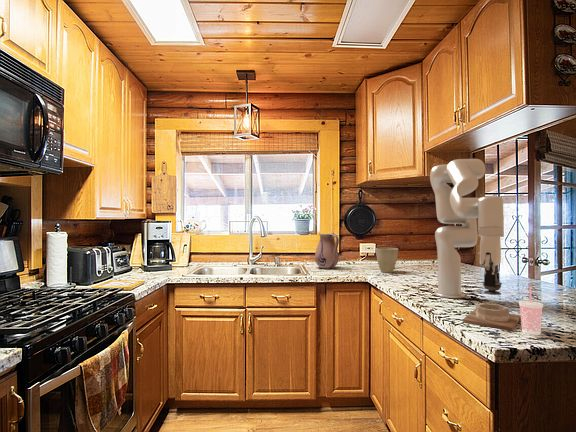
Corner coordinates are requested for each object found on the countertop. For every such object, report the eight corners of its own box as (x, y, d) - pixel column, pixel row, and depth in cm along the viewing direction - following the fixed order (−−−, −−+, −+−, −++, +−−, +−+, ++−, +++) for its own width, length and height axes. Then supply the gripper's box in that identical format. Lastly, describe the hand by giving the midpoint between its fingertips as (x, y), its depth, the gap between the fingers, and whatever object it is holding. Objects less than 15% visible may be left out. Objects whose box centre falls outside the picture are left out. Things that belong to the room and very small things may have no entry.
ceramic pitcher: (325, 265, 259) (325, 233, 259) (347, 268, 243) (347, 234, 244) (309, 268, 247) (309, 234, 248) (332, 271, 232) (331, 234, 232)
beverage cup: (514, 329, 105) (513, 284, 105) (532, 329, 105) (531, 284, 106) (530, 336, 99) (529, 288, 99) (549, 335, 99) (548, 288, 100)
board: (475, 311, 126) (475, 299, 126) (520, 318, 117) (520, 305, 117) (462, 322, 113) (462, 308, 113) (512, 331, 104) (512, 316, 104)
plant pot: (377, 273, 218) (377, 249, 219) (374, 270, 233) (373, 247, 233) (400, 274, 217) (400, 249, 217) (396, 270, 231) (396, 247, 232)
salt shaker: (494, 291, 118) (494, 257, 118) (506, 294, 112) (505, 259, 112) (478, 291, 118) (477, 257, 118) (489, 295, 112) (488, 259, 112)
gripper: (484, 231, 124) (485, 280, 124) (472, 232, 112) (473, 287, 111) (508, 231, 119) (509, 282, 119) (498, 233, 107) (500, 290, 106)
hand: (491, 284), depth 115 cm, fingers closed on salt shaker, 5 cm apart
